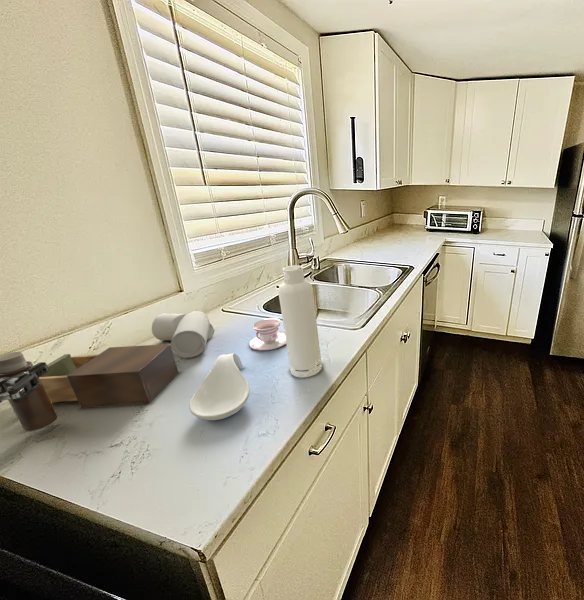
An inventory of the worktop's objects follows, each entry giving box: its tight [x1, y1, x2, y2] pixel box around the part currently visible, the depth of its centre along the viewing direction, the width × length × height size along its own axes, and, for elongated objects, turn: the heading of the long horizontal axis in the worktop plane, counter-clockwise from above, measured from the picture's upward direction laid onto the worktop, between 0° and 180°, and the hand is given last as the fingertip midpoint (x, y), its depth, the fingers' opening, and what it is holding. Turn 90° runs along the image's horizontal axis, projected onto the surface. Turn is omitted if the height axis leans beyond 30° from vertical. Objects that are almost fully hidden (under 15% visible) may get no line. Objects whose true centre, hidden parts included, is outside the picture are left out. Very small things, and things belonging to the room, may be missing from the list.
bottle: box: [277, 264, 323, 378], centre depth 82 cm, size 8×8×28 cm
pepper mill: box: [0, 351, 59, 432], centre depth 63 cm, size 5×5×16 cm
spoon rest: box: [188, 352, 251, 421], centre depth 76 cm, size 24×12×7 cm, turn 20°
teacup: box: [248, 317, 287, 352], centre depth 101 cm, size 12×12×6 cm
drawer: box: [39, 353, 100, 403], centre depth 77 cm, size 18×11×7 cm, turn 96°
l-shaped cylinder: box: [151, 310, 215, 358], centre depth 99 cm, size 18×11×20 cm
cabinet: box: [67, 343, 180, 409], centre depth 78 cm, size 15×13×9 cm
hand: (30, 367), depth 65 cm, fingers closed on pepper mill, 5 cm apart
